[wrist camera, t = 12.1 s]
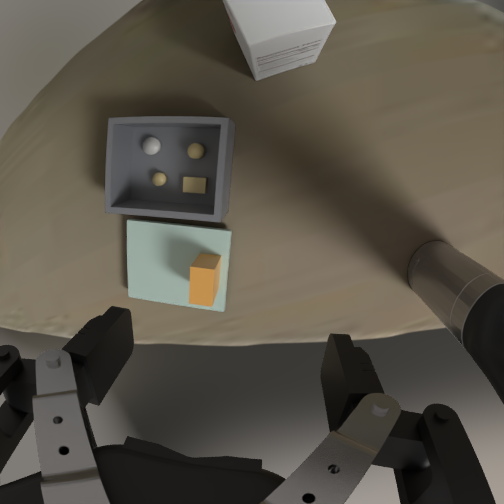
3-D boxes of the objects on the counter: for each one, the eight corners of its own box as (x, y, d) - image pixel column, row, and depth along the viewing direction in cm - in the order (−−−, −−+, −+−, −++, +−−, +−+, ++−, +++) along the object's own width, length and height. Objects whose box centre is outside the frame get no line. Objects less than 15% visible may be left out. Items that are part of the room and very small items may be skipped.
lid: (232, 227, 44) (225, 242, 37) (226, 304, 48) (218, 331, 40) (133, 217, 44) (109, 229, 37) (134, 290, 48) (113, 312, 41)
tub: (235, 123, 39) (228, 117, 33) (228, 211, 43) (220, 222, 36) (131, 122, 40) (108, 117, 33) (127, 203, 43) (105, 212, 37)
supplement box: (231, 29, 35) (212, -23, 21) (291, 11, 34) (299, -46, 20) (254, 83, 38) (246, 46, 23) (317, 63, 36) (339, 21, 22)
